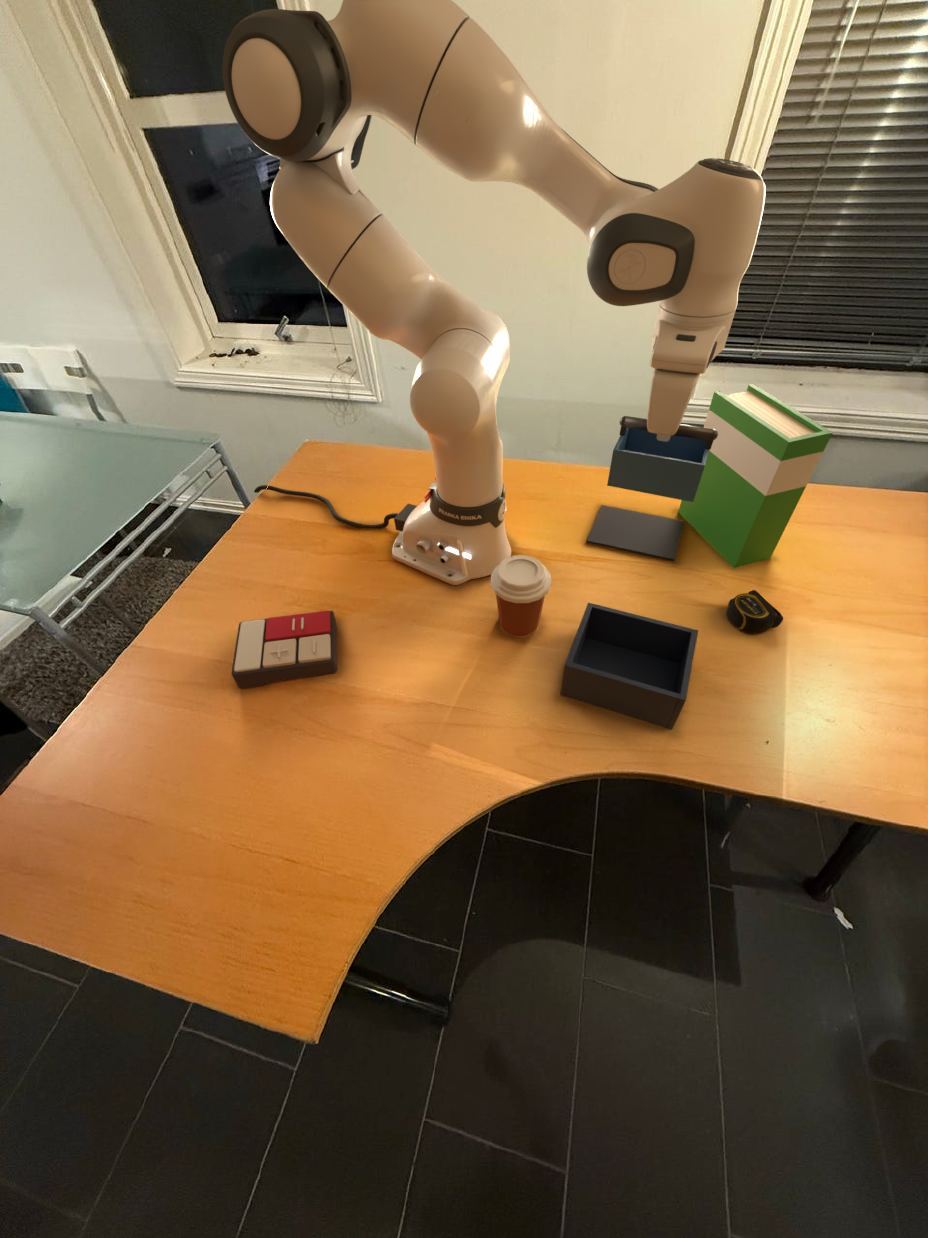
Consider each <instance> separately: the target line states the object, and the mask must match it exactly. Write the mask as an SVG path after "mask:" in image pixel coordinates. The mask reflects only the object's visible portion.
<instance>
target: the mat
mask: <svg viewBox="0 0 928 1238" xmlns="http://www.w3.org/2000/svg"><path fill="white" fill-rule="evenodd" d="M684 524H685V520H681V519H676V518H670V517H665V516H660V515H655V514H650V513H645V512H639V511H635V510H630V509H624V508H618V507H615V506H610V505H603V504H601V506H600V507H599V511H598V513H597V515H596V517H595V520H594V522H593V525H592V527H591V529H590V532H589V534H588V536H587V539H586V544H591V545H594V546H599V547H602V548H603V547H604V548H609V549H614V550H618V551H621V552H626V553H632V554H636V555H641V556H644V557H650V558H654V559H658V560H663V561H668V562H671V563H674V562H675V561H676V558H677V554H678V550H679V549H678V548H679V546H680V545H679V544H680V541H681V537H682V533H683V530H684V529H683V528H684Z"/></svg>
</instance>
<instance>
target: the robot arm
mask: <svg viewBox="0 0 928 1238" xmlns="http://www.w3.org/2000/svg"><path fill="white" fill-rule="evenodd" d="M341 2H342V3H341V6H340V8H339V11H338V12H337V14H336V16H335V17H333V18H332V19H330V20H327V19H326V18H325V17H324V15H322V13H320V12H318V11H317V10H295V9H282V8H267V9H263V10H259V11H256V12H253V13H251V14H249V15H248V16H246V17H244V18H242V19H241V20H240V21H239V23H237V24H236V25H235V26H234V28H233V29H232V30H231V32H230V33H229V35H228V38H227V40H226V42H225V46H224V50H223V56H222V65H221V66H222V67H221V68H222V81H223V82H222V83H223V88H224V92H225V95H226V100H227V102H228V105H229V108H230V110H231V112H232V115H233V117H234V118H235V121H236V122H237V124H238V126H239V127H240V129H241V130H242V131H243V133H244V134H245V135H246V137H247V138H248V139H249V140H250V141H251V142H252V143H253V144H254V145H255V146H256V147H258V148H259V149H260V150H261V151H263V152H264V153H266V154H268V155H269V156H271V157H274V158H276V159H278V160H279V170H278V172H277V173H276V176H275V177H274V180H273V183H272V186H271V190H270V196H269V206H270V213H271V216H272V219H273V221H274V224H275V225H276V227H277V228H278V230H279V231H280V233H281V234H282V235H283V237H284V239H285V240H286V241H287V242H288V244H289V245H290V246H291V248H292V249H293V251H294V252H295V253H296V255H297V256H298V257H299V258H300V260H301V261H302V262H303V263H304V264H305V266H306V267H307V268H308V269H309V271H311V273H312V274H313V275H314V276H315V277H316V279H317V280H318V281H319V282H320V283H321V284H322V285H323V286H324V287H325V288H326V289H327V290H328V291H329V292H330V294H332V295H333V296H334V298H336V299H337V300H338V301H339V302H340V303H341V304H342V305H343V306H344V307H345V309H346V310H348V312H349V313H351V315H352V316H353V317H354V318H355V319H356V320H357V321H358V322H359V323H360V324H361V325H362V326H363V327H364V328H365V329H366V330H367V331H368V332H369V333H370V334H371V335H372V336H374V337H376V338H378V339H380V340H383V341H389V342H393V343H395V344H396V345H399V346H401V347H402V348H404V349H406V350H407V351H409V352H410V353H412V354H413V355H415V356H416V357H417V358H419V359H420V361H419V362H418V364H417V366H416V368H415V371H414V375H413V377H412V382H411V385H410V386H411V387H410V391H409V406H410V410H411V413H412V415H413V418H414V420H415V421H416V422H417V424H418V425H419V427H421V428H422V429H423V430H424V432H426V434H427V437H428V440H429V442H430V446H431V449H432V450H431V451H432V456H433V463H434V473H435V477H434V482H432V483H431V484H430V486H429V487H428V491H427V492H426V493H425V495H424V497H423V499H424V501H422V502H420V503H419V504H418V505H417V504H411V503H407V504H406V505H405V506H404V507H403V508H402V509H401V511H399V512H392V513H388V514H386V515H385V516H384V518H383V522H381V523H376V524H367V523H360V522H356V521H353V520H350V519H347V518H344V517H342V516H340V515H339V513H337V511H336V509H335V508H334V506H333V504H332V503H331V502H330V501H329V499H327V498H325V497H324V496H323V495H320V494H316V493H312V492H307V491H300V490H292V489H291V490H290V489H286V488H285V489H284V488H281V487H277V486H274V485H269V484H261V485H258V486H257V487H255V489H254V490H253V492H254V493H256V494H257V493H260V492H261V491H263V490H264V491H265V490H267V491H272V492H275V493H280V494H284V495H288V496H297V497H298V496H299V497H305V498H311V499H316V500H318V501H320V502H322V503H323V504H324V505H326V507H327V509H328V511H329V513H330V514H331V516H332V517H333V518H334V519H335V520H337V521H338V522H340V523H342V524H345V525H347V526H350V527H353V528H358V529H375V530H376V529H378V530H381V529H385V528H386V527H388V526H389V524H390V520H392V519H393V522H394V525H395V526H394V527H395V531H399V533H398V535H397V536H396V538H395V540H394V542H393V544H392V548H391V551H392V558H393V559H394V560H395V561H397V562H399V563H401V564H404V565H406V566H408V567H411V568H413V569H415V570H418V571H420V572H421V573H424V574H426V575H429V576H431V577H433V578H435V579H438V580H440V581H442V582H444V583H447V584H449V585H451V586H459V585H462V584H464V583H466V582H468V581H470V580H474V579H479V578H484V577H488V576H491V574H492V573H493V571H494V569H495V568H496V567H497V566H499V565H500V563H501V562H502V561H503V560H505V559H506V558H508V557H512V547H511V544H510V542H509V539H508V535H507V529H506V524H505V523H506V522H505V517H506V512H507V500H506V499H507V498H506V486H505V483H504V445H503V440H502V439H501V438H500V433H499V428H498V422H497V401H498V395H499V391H500V387H501V384H502V382H503V379H504V377H505V375H506V372H507V370H508V368H509V364H510V360H511V343H510V342H511V341H510V335H509V331H508V328H507V326H506V324H505V322H504V321H503V320H502V318H501V317H500V316H499V315H498V314H496V313H495V312H494V311H491V310H490V309H487V308H483V307H481V306H479V305H477V304H476V303H475V302H473V301H472V300H471V299H470V298H469V297H467V296H466V295H465V294H463V293H462V292H461V291H460V290H459V289H457V288H456V287H455V286H453V285H452V284H450V282H448V281H447V280H445V279H444V278H443V277H442V276H441V275H440V274H438V273H437V272H436V271H435V270H434V269H433V267H431V266H430V265H429V264H428V263H427V262H426V261H425V260H424V259H423V258H422V257H421V256H420V254H419V253H418V252H417V251H416V250H415V249H414V248H413V246H412V245H411V244H410V243H409V242H408V241H407V240H406V239H405V237H404V236H403V235H402V234H401V233H400V231H398V230H397V228H396V227H395V226H394V225H393V224H392V223H391V222H390V221H389V219H388V218H387V217H386V216H385V215H384V213H382V211H381V210H380V209H379V208H378V207H377V205H376V204H374V202H373V201H372V200H371V199H370V197H369V196H368V195H367V194H366V193H365V192H364V190H363V189H362V188H361V186H360V185H359V183H358V182H357V180H356V177H355V175H354V173H353V171H352V170H354V169H356V168H357V167H358V166H359V164H360V160H361V158H362V154H363V149H364V146H365V141H366V139H367V138H366V137H367V135H368V131H369V129H370V125H371V122H372V118H373V116H374V117H377V118H379V119H381V120H382V121H385V122H386V123H388V124H389V125H390V126H392V127H393V128H395V129H396V130H397V131H399V132H400V133H401V134H402V136H404V137H405V138H406V139H408V140H409V141H410V142H411V143H412V144H413V145H415V147H417V148H418V149H419V150H421V152H423V153H424V154H425V155H426V156H428V157H429V158H430V159H431V160H433V161H434V162H435V163H437V164H439V165H440V166H442V167H443V168H445V169H447V170H448V171H450V172H452V173H454V174H455V175H457V176H459V177H461V178H463V179H465V180H467V181H470V182H474V183H476V182H477V183H479V182H504V183H512V184H516V185H518V186H522V187H523V188H526V189H528V190H530V191H532V192H533V193H535V194H536V195H537V196H539V197H540V198H541V199H543V201H544V202H546V203H547V204H549V205H550V206H551V207H552V208H553V209H555V210H556V211H557V212H559V214H561V215H562V216H563V217H565V218H566V219H567V220H568V221H569V222H571V223H572V224H573V225H574V226H576V227H577V228H578V229H579V230H580V231H581V232H582V234H583V235H584V237H585V238H586V240H587V243H588V245H589V249H588V253H587V258H586V273H587V279H588V282H589V285H590V287H591V289H592V291H593V292H594V293H595V295H596V296H597V297H598V298H599V299H600V300H602V301H603V302H605V303H607V304H609V305H611V306H615V307H630V306H639V305H644V304H650V303H655V302H659V304H658V309H657V313H656V320H655V324H654V329H653V332H652V333H653V334H652V339H651V345H652V353H651V356H650V362H649V366H650V368H653V373H652V378H651V386H650V392H649V401H648V407H647V417H646V419H647V429H648V431H649V432H651V433H655V434H657V440H658V441H664V442H667V441H669V440H670V437H671V436H672V435H674V434H675V433H676V432H677V430H678V428H679V425H680V424H682V421H683V417H684V416H685V413H686V411H687V408H688V405H689V403H690V401H691V399H692V396H693V393H694V391H695V388H696V386H697V384H698V382H699V380H700V377H701V376H702V374H705V373H706V371H707V369H708V368H709V366H710V364H711V362H712V361H713V360H714V359H715V358H716V357H717V355H719V354H720V353H722V352H723V350H724V349H725V347H726V343H727V340H728V337H729V334H730V330H731V327H732V324H733V319H734V317H735V313H736V310H737V308H738V307H737V306H738V302H739V301H738V300H739V290H740V289H739V288H740V284H741V282H742V279H743V277H744V275H745V273H746V272H747V270H748V268H749V267H750V263H751V261H752V257H753V253H754V250H755V246H756V243H757V239H758V234H759V231H760V227H761V222H762V217H763V213H764V208H765V200H766V189H767V188H766V184H765V181H764V178H763V177H762V176H761V173H759V172H758V171H757V170H756V169H755V168H754V167H752V166H751V165H747V164H744V163H742V162H739V161H734V160H731V159H730V160H729V159H725V158H713V157H709V158H704V159H701V160H699V161H697V162H696V163H695V164H694V165H693V166H692V167H691V168H690V169H689V170H687V171H686V172H685V173H683V174H682V175H681V176H679V177H678V178H676V179H675V180H673V181H671V182H669V183H668V184H666V185H664V186H663V187H661V188H658V187H656V186H655V185H652V184H649V183H645V182H641V181H637V180H636V181H635V180H630V179H626V178H623V177H620V176H617V175H616V174H614V173H613V172H612V171H610V170H609V169H608V168H607V167H606V166H604V165H603V164H602V163H601V162H600V161H599V160H598V159H597V158H596V157H594V156H593V155H592V154H591V153H590V152H589V151H587V150H586V149H585V148H584V147H583V146H581V144H579V142H577V141H576V140H575V139H574V138H573V137H572V136H571V135H570V134H568V133H567V132H566V131H565V130H564V129H563V128H562V127H561V126H560V125H559V124H557V122H556V120H554V119H553V118H552V116H551V114H550V113H549V112H548V111H547V110H546V108H545V106H543V104H542V102H541V101H540V100H539V99H538V97H537V96H536V94H535V93H534V92H533V91H532V89H531V88H530V86H529V85H528V83H527V82H526V81H525V79H524V78H523V76H522V75H521V73H520V72H519V71H518V70H517V69H518V68H516V67H515V65H514V64H513V62H512V61H511V60H510V58H509V57H508V56H507V55H506V54H505V52H504V51H503V50H502V48H501V47H500V46H499V45H498V44H497V43H496V42H495V41H494V39H493V38H492V37H491V36H490V35H489V34H488V32H486V31H485V29H483V28H482V26H481V25H480V24H478V22H476V21H475V20H474V19H473V18H472V17H471V16H470V15H469V14H468V13H467V12H465V10H463V9H462V8H461V7H460V6H459V5H458V4H457V3H456V2H454V1H453V0H342V1H341ZM268 485H269V486H268ZM267 486H268V488H267ZM266 488H267V489H266Z"/></svg>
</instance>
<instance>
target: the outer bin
mask: <svg viewBox="0 0 928 1238" xmlns="http://www.w3.org/2000/svg"><path fill="white" fill-rule="evenodd" d="M698 634H699V630H698V629H694V628H691V627H687V626H683V625H679V624H675V623H671V622H667V621H663V620H660V619H656V618H651V617H649V616H644V615H640V614H637V613H636V614H635V613H633V612H632V613H631V612H628V611H624V610H621V609H616V608H612V607H608V606H604V605H600V604H596V603H592V602H587V605H586V607H585V610H584V612H583V614H582V617H581V620H580V623H579V625H578V628H577V631H576V634H575V635H574V639H573V642H572V644H571V646H570V650H569V652H568V655H567V658H566V659H565V664H564V667H563V673H562V675H563V676H562V680H561V687H560V693H559V694H560V696H562V697H566V698H569V699H573V700H575V701H579V702H582V703H585V704H588V705H591V706H594V707H598V708H601V709H604V710H608V711H610V712H614V713H616V714H620V715H623V716H626V717H629V718H633V719H636V720H640V721H642V722H646V723H648V724H653V725H655V726H658V727H662V728H665V729H668V730H671V731H672V730H673V729H674V727H675V725H676V722H677V720H678V718H679V716H680V714H681V712H682V711H683V707H684V705H685V704H686V701H687V697H688V696H687V695H688V690H689V685H690V681H691V674H692V668H693V662H694V657H695V653H696V651H695V650H696V646H697V645H696V644H697V640H698Z"/></svg>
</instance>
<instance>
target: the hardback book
mask: <svg viewBox="0 0 928 1238" xmlns="http://www.w3.org/2000/svg"><path fill="white" fill-rule="evenodd" d="M703 428H710V429H715V430H716V431H717V432H718V436H717V438H716V439H715V440H713V444H712V447H711V449H710V450H709V453H708V457H707V460H706V464H705V468H704V471H703V474H702V477H701V480H700V483H699V486H698V489H697V492H696V495H695V498H694V502H689V501H684V500H680V505H679V508H678V511H677V512H678V514H679V515H681V517H682V518H683V519H684V520H686V522H687V523H688V524H689V525H690V526H691V527H692V528H693V529H694V530H695V531H696V532H697V533H698V534H699V535H700V536H701V537H702V538H703V539H704V540H705V541H706V542H707V543H708V544H709V545H710V546H711V547H712V548H713V549H714V550H715V551H716V552H717V553H718V554H719V555H720V556H721V557H722V558H723V559H724V560H725V561H726V562H727V563H728V564H729V565H730V566H731V567H732V568H733V569H737V568H740V567H744V566H748V565H752V564H756V563H758V562H762V561H767V560H770V559H771V558H772V557H773V554H774V552H775V550H776V549H777V546H778V544H779V542H780V540H781V537H782V535H783V534H784V532H785V530H786V528H787V526H788V524H789V522H790V520H791V518H792V516H793V514H794V512H795V510H796V508H797V505H798V504H799V502H800V500H801V498H802V496H803V494H804V491H805V489H806V488H807V486H808V484H809V481H810V479H812V475H813V474H814V471H815V470H816V467H817V465H818V463H819V461H820V460H821V457H822V456H823V454H824V451H825V450H826V448H827V446H828V443H829V441H830V439H831V437H832V435H833V434H834V432H833V431H831V429H828V428H827V427H825V426H823V425H822V424H820V423H819V422H817V421H815V420H813V419H812V418H810V417H809V416H807V415H805V414H803V413H802V412H800V411H799V410H797V409H796V408H794V407H792V406H790V405H789V404H788V403H786V402H784V401H782V400H781V399H779V398H778V397H776V396H774V395H773V394H771V393H770V392H768V391H766V390H764V389H763V388H761V387H760V386H758V385H756V384H755V383H750V384H748V385H747V389H746V390H745V391H744V390H743V391H740V392H735V393H730V394H725V393H723V392H722V391H720V390H715V391H713V395H712V398H711V401H710V404H709V408H708V411H707V414H706V418H705V421H704V425H703Z"/></svg>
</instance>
